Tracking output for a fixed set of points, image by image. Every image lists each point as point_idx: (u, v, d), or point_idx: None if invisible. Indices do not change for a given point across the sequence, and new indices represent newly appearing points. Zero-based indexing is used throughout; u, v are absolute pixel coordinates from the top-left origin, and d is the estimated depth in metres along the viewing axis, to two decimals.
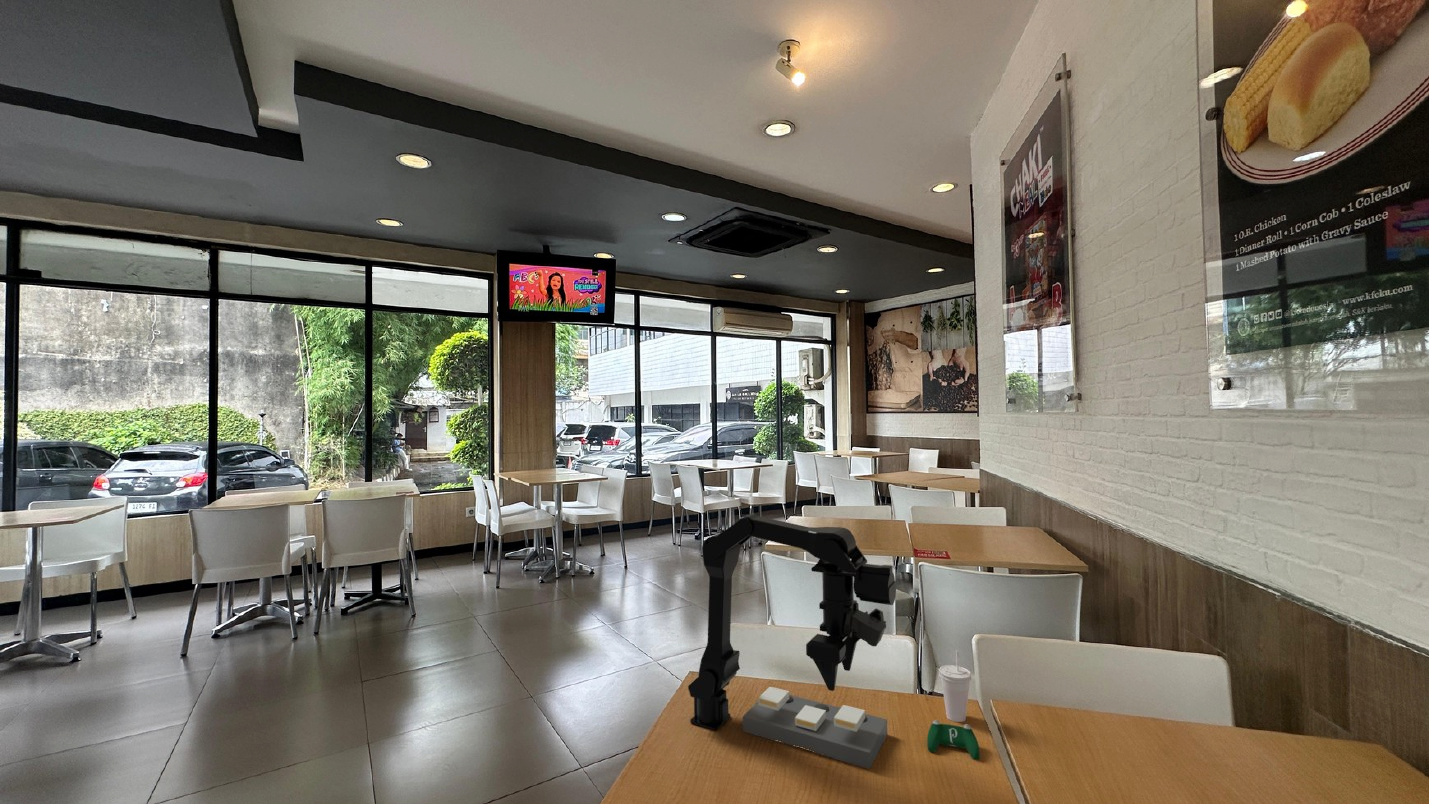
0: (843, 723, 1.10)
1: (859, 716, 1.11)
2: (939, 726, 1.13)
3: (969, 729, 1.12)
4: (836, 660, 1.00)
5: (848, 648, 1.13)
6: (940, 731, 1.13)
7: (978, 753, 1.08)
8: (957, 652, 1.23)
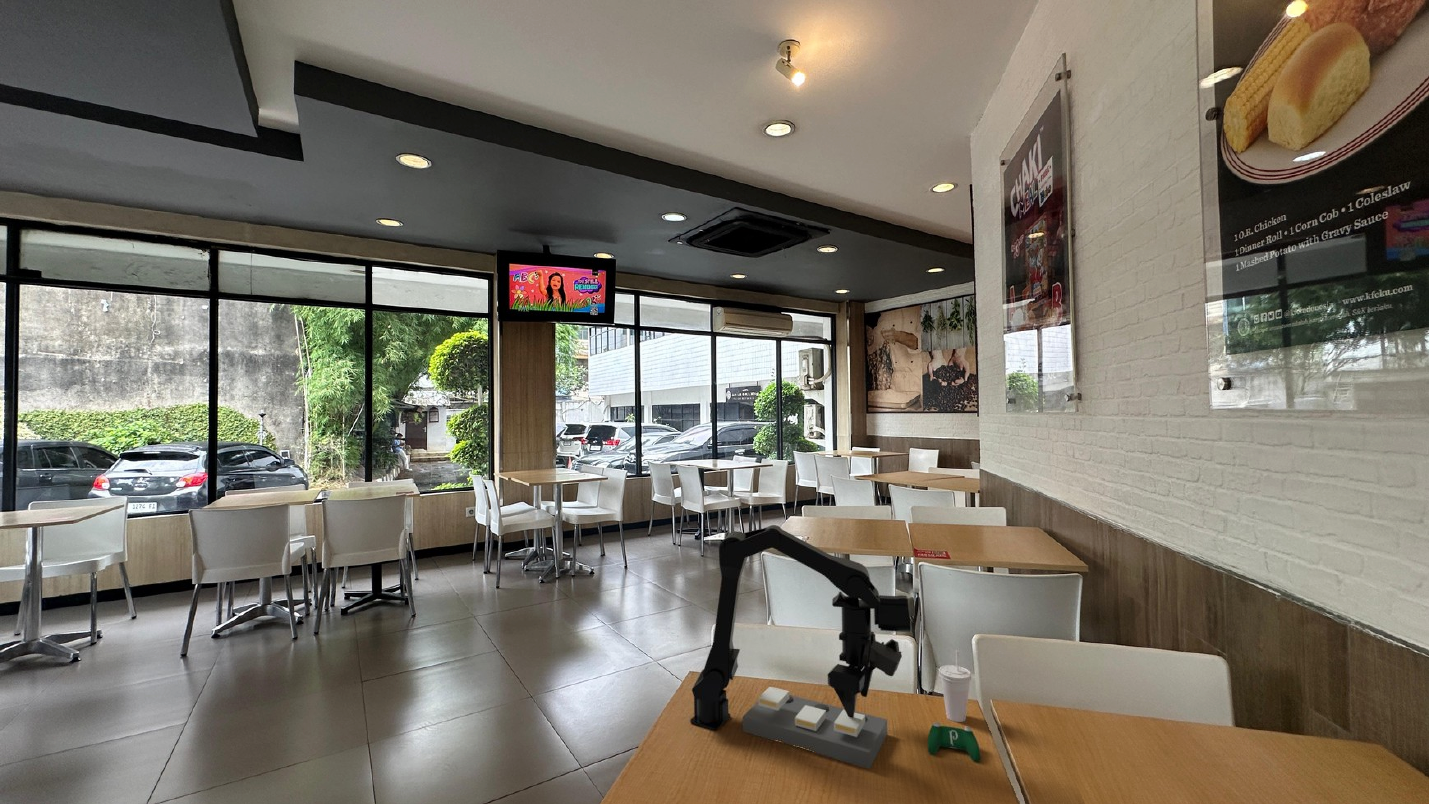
0: (843, 728, 1.10)
1: (859, 721, 1.11)
2: (940, 728, 1.13)
3: (970, 731, 1.11)
4: (856, 690, 1.08)
5: (865, 676, 1.21)
6: (940, 733, 1.12)
7: (979, 756, 1.07)
8: (957, 652, 1.23)
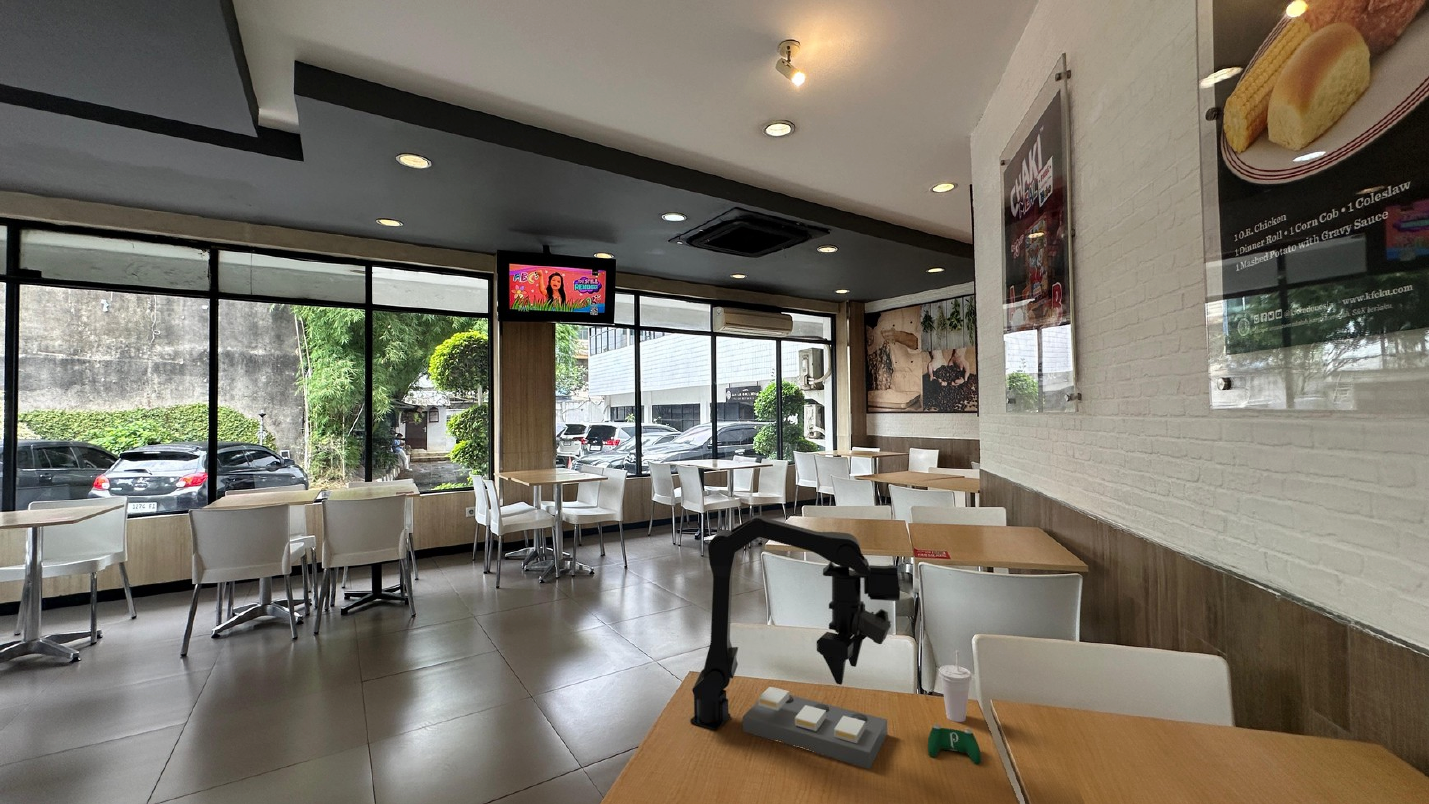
0: (843, 734, 1.10)
1: (859, 728, 1.11)
2: (940, 730, 1.12)
3: (970, 733, 1.10)
4: (844, 656, 1.09)
5: (855, 646, 1.22)
6: (941, 735, 1.11)
7: (979, 758, 1.06)
8: (957, 652, 1.23)
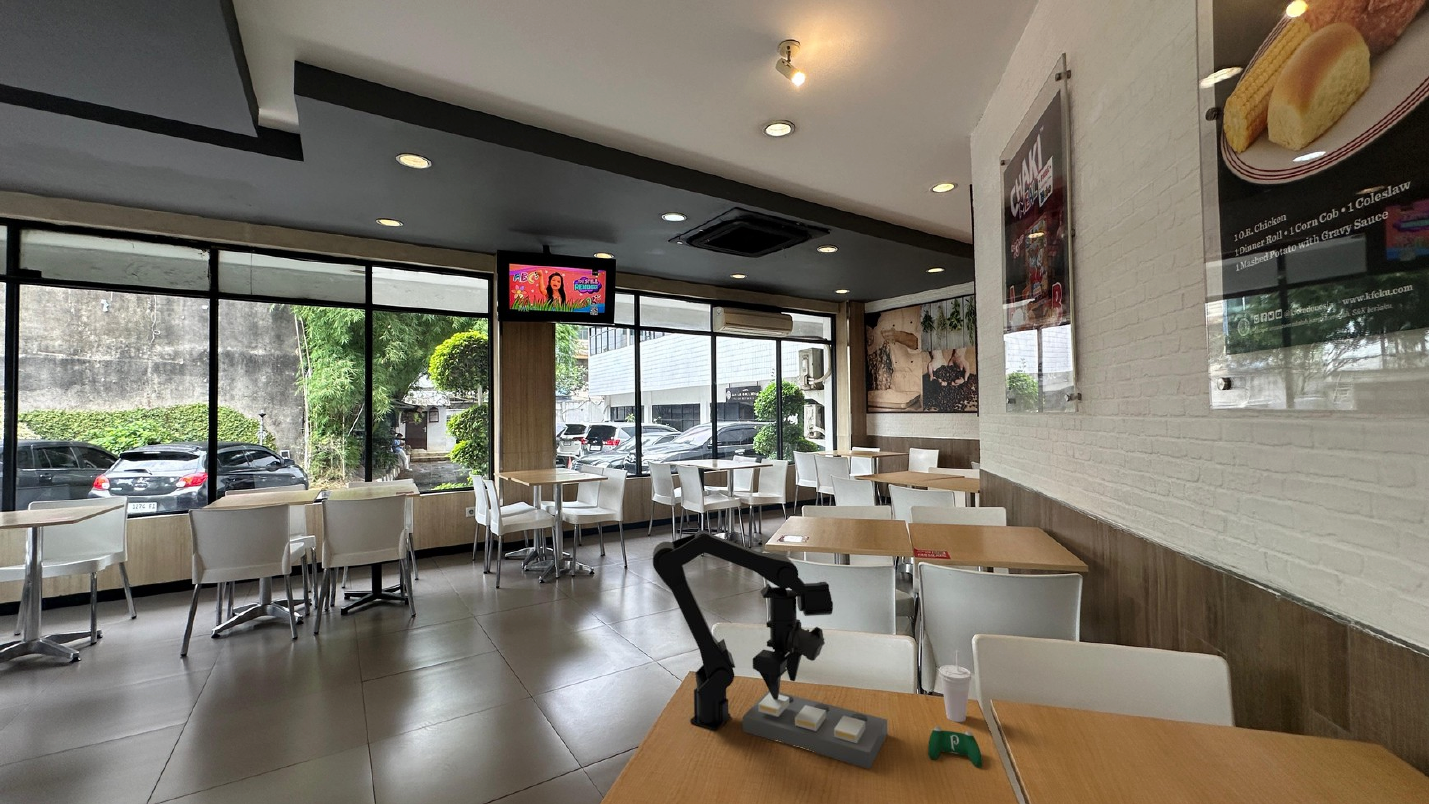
0: (843, 734, 1.10)
1: (859, 728, 1.11)
2: (941, 733, 1.11)
3: (971, 736, 1.10)
4: (777, 673, 1.16)
5: (794, 661, 1.29)
6: (941, 738, 1.11)
7: (980, 761, 1.06)
8: (957, 652, 1.23)
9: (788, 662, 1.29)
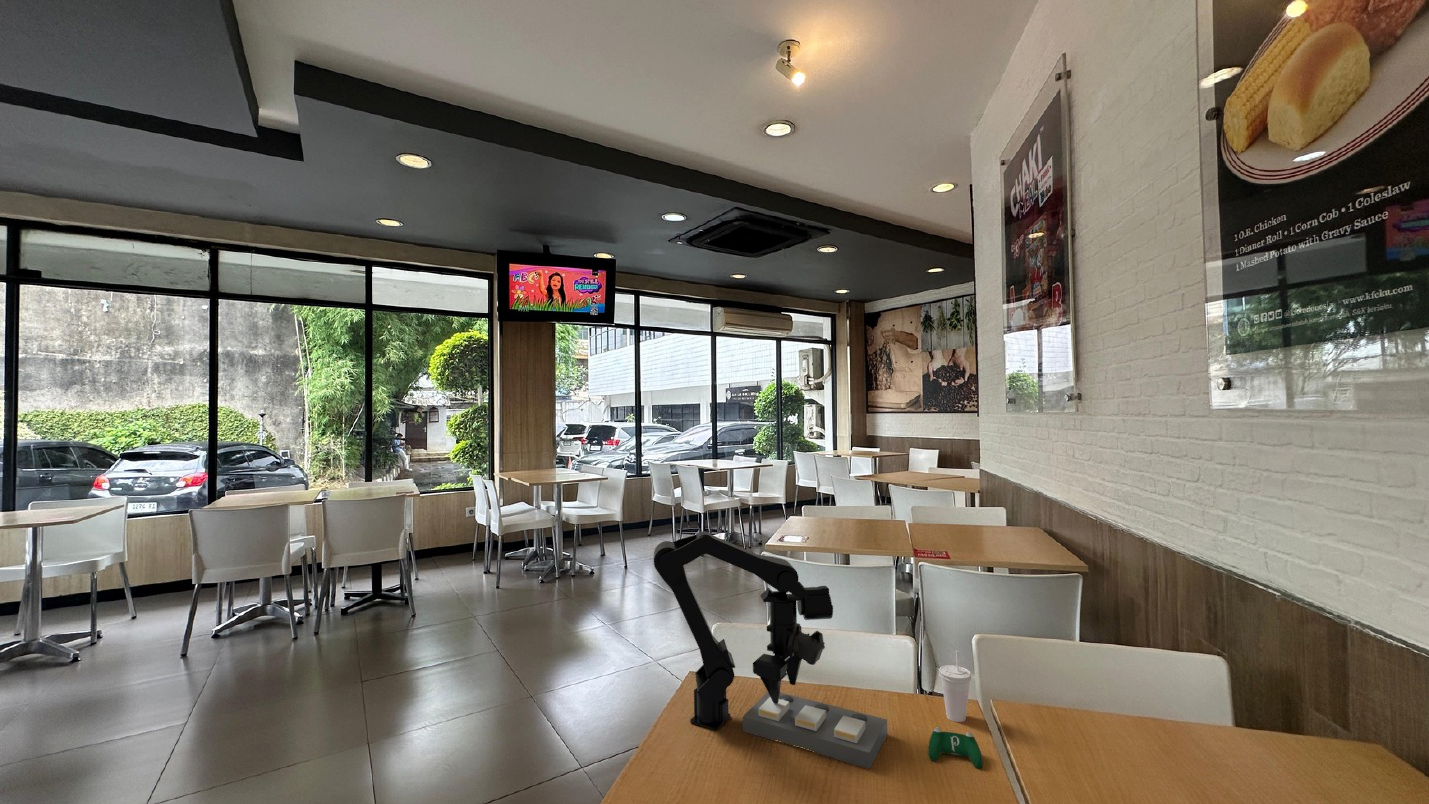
0: (843, 734, 1.10)
1: (859, 728, 1.11)
2: (941, 734, 1.11)
3: (971, 737, 1.09)
4: (777, 677, 1.16)
5: (794, 665, 1.29)
6: (942, 739, 1.10)
7: (981, 762, 1.05)
8: (957, 652, 1.23)
9: (788, 666, 1.29)
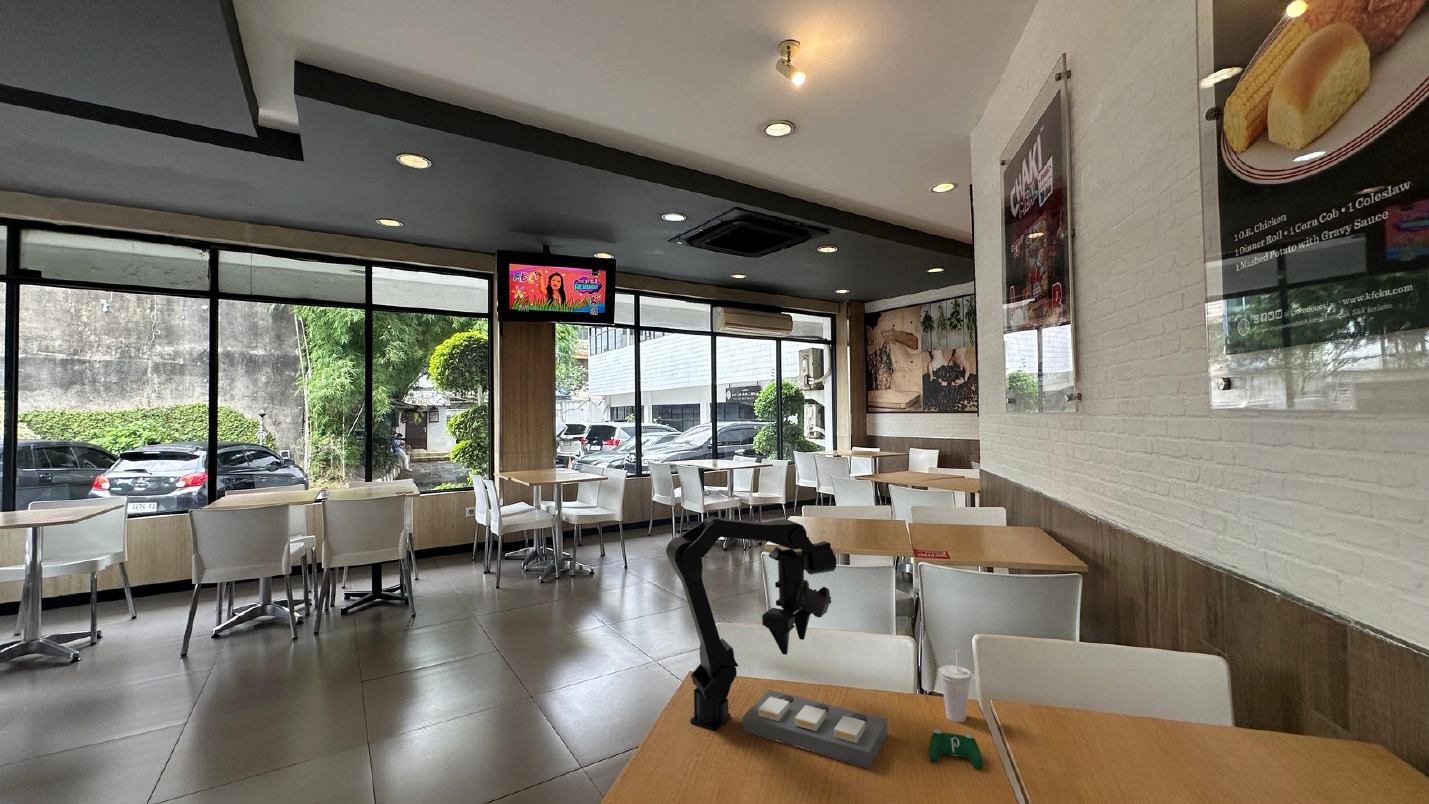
0: (843, 734, 1.10)
1: (859, 728, 1.11)
2: (941, 735, 1.10)
3: (972, 738, 1.09)
4: (785, 628, 1.21)
5: (802, 621, 1.34)
6: (942, 740, 1.10)
7: (981, 764, 1.05)
8: (957, 652, 1.23)
9: (797, 622, 1.35)
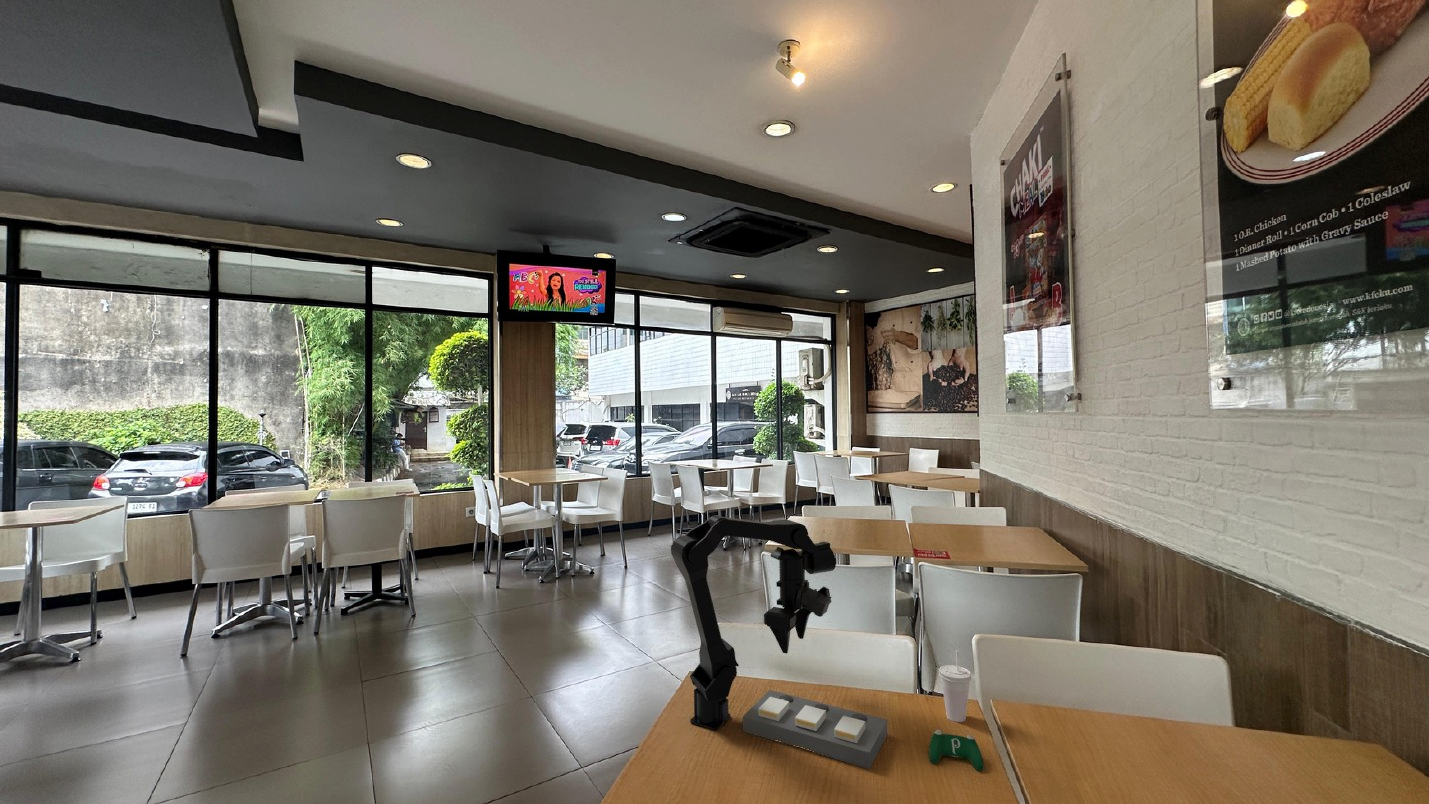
0: (843, 734, 1.10)
1: (859, 728, 1.11)
2: (941, 736, 1.10)
3: (972, 739, 1.08)
4: (787, 627, 1.23)
5: (802, 620, 1.36)
6: (942, 741, 1.09)
7: (982, 765, 1.05)
8: (957, 652, 1.23)
9: (796, 621, 1.37)
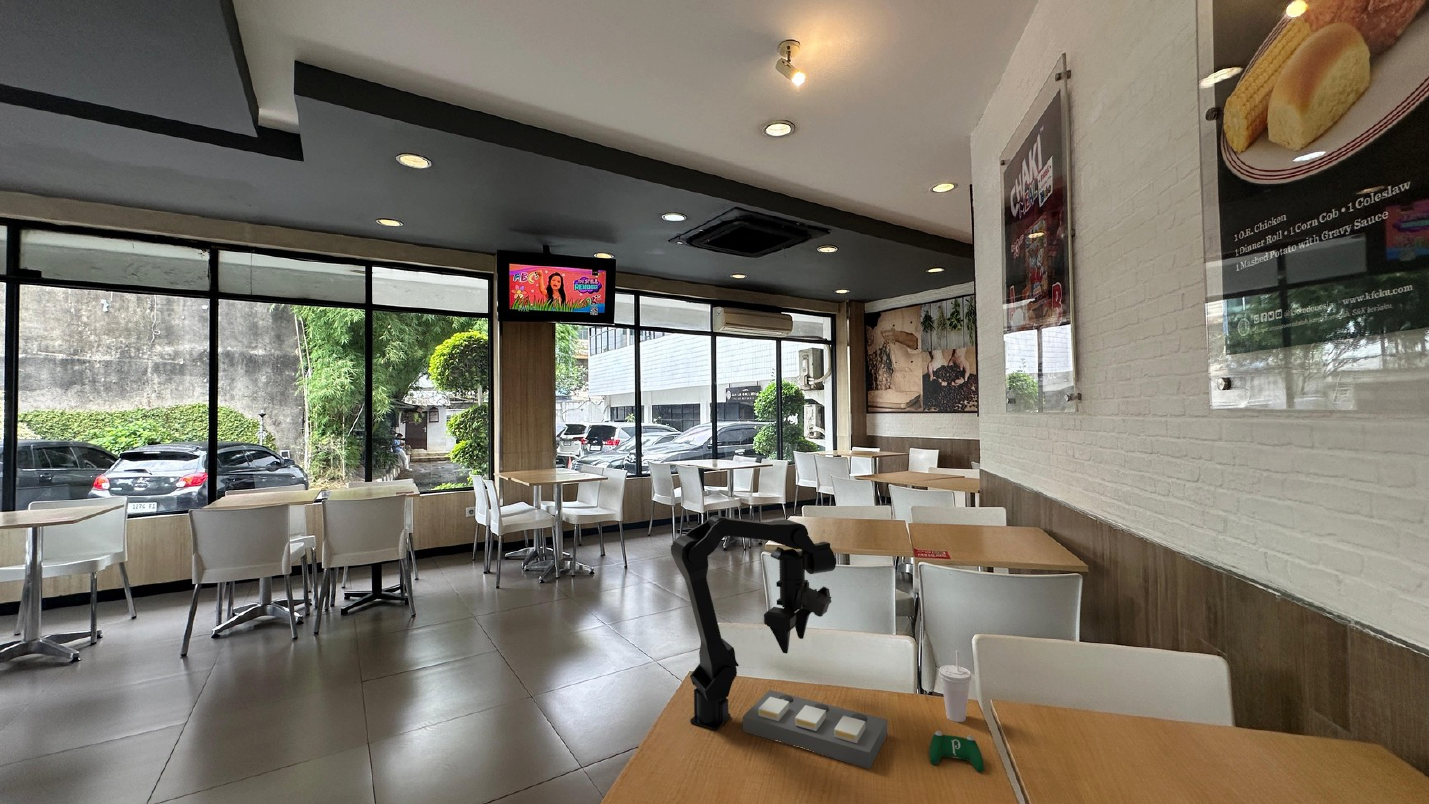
0: (843, 734, 1.10)
1: (859, 728, 1.11)
2: (942, 737, 1.10)
3: (972, 740, 1.08)
4: (787, 627, 1.23)
5: (802, 620, 1.36)
6: (942, 742, 1.09)
7: (982, 766, 1.04)
8: (957, 652, 1.23)
9: (796, 621, 1.37)
